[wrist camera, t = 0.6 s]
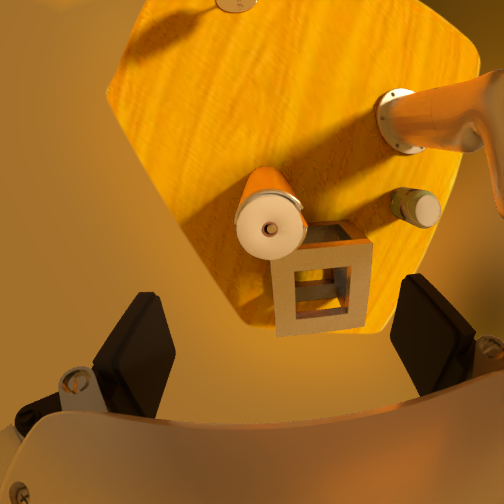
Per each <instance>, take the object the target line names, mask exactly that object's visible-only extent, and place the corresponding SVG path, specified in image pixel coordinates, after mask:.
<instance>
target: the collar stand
mask: <svg viewBox="0 0 504 504" xmlns="http://www.w3.org/2000/svg"><path fill="white" fill-rule="evenodd" d="M307 225H308V229H307V234H306V237H305V239H304V241H303V243H302V244H301V245H300V246H299V247H298V249H297V250H296V251H294V252H293V253H291V254H290V255H288V256H285V257H283V258H280V259H276V260H270V265H271V276H272V287H273V299H274V311H275V323H276V336H277V337H283V336H293V335H303V334H312V333H321V332H329V331H337V330H344V329H351V328H357V327H364V325H365V318H366V311H367V303H368V295H369V286H370V276H371V264H372V250H373V243H372V242H371V241H370V240H369V239H368V238H367V237H366V236H365V235H364V234H363V233H362V232H361V231H360V230H359V229H358V228H357V227H356V226H355V225H354V224H353V223H352V222H351V221H350V220H340V221H327V222H314V223H307ZM327 268H332V279H324V280H314V281H304V282H295V279H294V272H296V271H307V270H317V269H327ZM328 298H338V300H339V302H340V305H341V307H339V308H331V309H322V310H313V311H304V312H296V304H295V302H300V301H310V300H320V299H328Z"/></svg>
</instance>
